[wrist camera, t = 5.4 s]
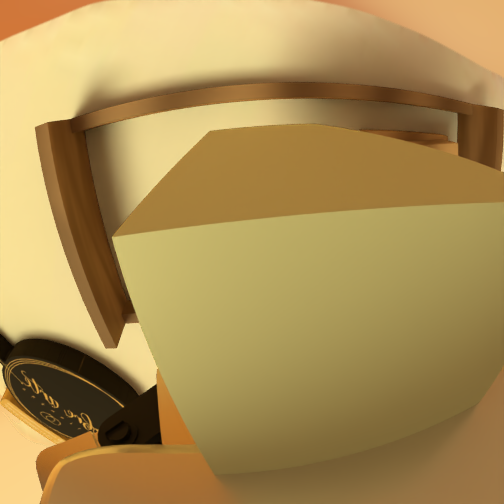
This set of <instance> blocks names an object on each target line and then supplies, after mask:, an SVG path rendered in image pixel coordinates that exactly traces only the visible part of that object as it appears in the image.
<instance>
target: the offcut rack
mask: <svg viewBox="0 0 504 504" xmlns="http://www.w3.org/2000/svg"><path fill="white" fill-rule="evenodd" d="M301 98H319V99H351V100H367V101H379V102H389V103H398V104H407V105H414V106H421V107H428V108H434V109H439V110H445V111H450V112H455V113H458V140H457V143H458V156H460V157H463V158H466V159H469V160H472V161H475V162H478V163H480V164H483V165H486V166H488V167H491V168H494V169H496V170H499V171H501V164H502V152H503V132H504V110H502V109H499V108H494V107H488V106H482V105H474V104H470V103H466V102H462V101H458V100H454V99H449V98H445V97H440V96H435V95H430V94H425V93H419V92H414V91H407V90H401V89H394V88H386V87H377V86H367V85H356V84H341V83H316V82H284V83H258V84H243V85H231V86H221V87H212V88H204V89H197V90H190V91H184V92H177V93H172V94H166V95H161V96H156V97H151V98H146V99H141V100H137V101H133V102H128V103H124V104H120V105H116V106H112V107H109V108H105V109H101V110H98V111H95V112H91V113H88V114H85V115H81V116H78V117H75V118H72V119H68V120H60V121H53V122H47V123H44V124H42V125H39V126H37V127H35V131H36V138H37V145H38V151H39V156H40V162H41V167H42V172H43V176H44V181H45V185H46V189H47V194H48V198H49V202H50V205H51V209H52V213H53V216H54V220H55V223H56V227H57V230H58V233H59V236H60V240H61V243H62V246H63V249H64V252H65V255H66V257H67V260H68V263H69V266H70V269H71V271H72V274H73V277H74V279H75V282H76V284H77V287H78V289H79V292H80V294H81V296H82V299H83V301H84V304H85V306H86V308H87V310H88V313H89V315H90V317H91V319H92V321H93V324H94V326H95V328H96V330H97V332H98V334H99V336H100V338H101V340H102V342H103V344H104V346H105V348H117V346H118V343H119V340H120V337H121V334H122V331H123V328H124V326H125V323H139V320H138V318H137V315H136V312H135V309H134V307H133V304H132V301H131V300H127V299H126V296H125V293H124V290H123V287H122V284H121V281H120V278H119V275H118V272H117V269H116V266H115V263H114V260H113V256H112V253H111V250H110V246H109V243H108V239H107V236H106V232H105V228H104V225H103V221H102V217H101V213H100V209H99V205H98V201H97V196H96V192H95V187H94V183H93V178H92V173H91V168H90V163H89V157H88V151H87V145H86V139H85V133H84V131H85V130H88V129H92V128H95V127H99V126H103V125H106V124H110V123H114V122H118V121H122V120H126V119H131V118H135V117H140V116H145V115H149V114H154V113H160V112H165V111H171V110H177V109H183V108H189V107H196V106H203V105H211V104H220V103H229V102H240V101H253V100H269V99H301Z"/></svg>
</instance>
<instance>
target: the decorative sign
mask: <svg viewBox="0 0 504 504" xmlns="http://www.w3.org/2000/svg"><path fill="white" fill-rule="evenodd" d="M0 363H1V364H2V365H3V368H2V373H3V378H4V382H5V384H6V386H7V389H6V391H5V393H4V395H3V397H2V399H1V401H0V404H1V405H2V406H3V407H4V408H6V409H7V410H8V411H9V412H11V413H12V414H13V415H15V416H16V417H17V418H19V419H20V420H21V421H23V422H24V423H25V424H27V425H28V426H30V427H31V428H32V429H34V430H35V431H37V432H38V433H40V434H41V435H43V436H44V437H46V438H47V439H49V440H51V441H52V442H54V443H55V444H59V443H62V442H64V441H67V440H70V439H72V438H75V437H77V436H80V435H82V434H84V433H87V432H89V431H91V432H92V433H93V434H94V433H96V432H98V430H99V427H100V426H101V424H102V423H103V422H104V421H105V420H106V419H107V418H108V417H110V416H111V415H113V414H114V413H116V412H117V411H119V410H120V409H122V408H123V407H125V406H126V405H127V404H129V403H130V402H132V401H133V400H135V399H136V398H138V397H139V395H138V394H137V393H136V391H135V390H134V389H133V388H132V387H131V386H130V385H129V384H128V383H127V382H126V381H125V380H123V379H122V378H121V377H120V376H118V375H117V374H116V373H114V372H113V371H112V370H110V369H109V368H107V367H106V366H105V365H103V364H102V363H100V362H98V361H97V360H95V359H93V358H92V357H90V356H88V355H86V354H84V353H82V352H80V351H78V350H76V349H74V348H71V347H69V346H66V345H63V344H60V343H57V342H54V341H49V340H44V339H27V340H23V341H20V342H19V343H17V344H16V345H15V346H12V345H11V344H10V343H9V342H8V341H7V340H6V339H5V338H4V337H3V336H2V335H1V334H0Z"/></svg>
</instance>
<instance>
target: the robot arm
mask: <svg viewBox="0 0 504 504" xmlns="http://www.w3.org/2000/svg"><path fill="white" fill-rule="evenodd" d="M156 378H157V384H156V385H154V386H153V387H152V388H150V389H149V390H147V391H146V392H145V393H143V394H142V395H140V396H139V397H138V398H136V399H135V400H133V401H132V402H130V403H129V404H127V405H126V406H125V407H123V408H122V409H120V410H119V411H117V412H116V413H114V414H113V415H111V416H110V417H108V418H107V419H106V420H105V421H104V422H103V423H102V424H101V426H100V427H99V430H98V432H96V433H94V434H93V433H92V432H91V431H89V432H87V433H84V434H82V435H80V436H77V437H75V438H72V439H70V440H67V441H64V442H62V443H59V444H57V445H54V446H51V447H49V448H46V449H45V450H43V451H41V453H40V454H39V455H38V457H37V460H36V469H37V472H38V477H39V480H40V483H41V487H42V490H43V494H42V498H41V501H40V504H504V366H503V368H502V369H501V371H500V373H499V374H498V376H497V377H496V379H495V381H494V382H493V384H492V385H491V387H490V388H489V389H488V391H487V392H486V394H485V395H484V397H483V398H482V399H481V401H480V402H479V403H478V404H476V405H474V406H472V407H470V408H469V409H467V410H465V411H463V412H461V413H459V414H457V415H455V416H453V417H451V418H449V419H447V420H445V421H442V422H440V423H438V424H436V425H434V426H431V427H429V428H427V429H424V430H422V431H419V432H417V433H414V434H412V435H409V436H407V437H404V438H401V439H399V440H396V441H393V442H390V443H387V444H384V445H381V446H378V447H375V448H372V449H368V450H365V451H362V452H358V453H355V454H351V455H347V456H343V457H339V458H335V459H331V460H327V461H322V462H318V463H313V464H308V465H302V466H297V467H291V468H284V469H277V470H270V471H261V472H252V473H240V474H223V475H214V473H213V472H212V470H211V469H210V467H209V465H208V464H207V462H206V460H205V459H204V457H203V455H202V454H201V452H200V450H199V448H198V447H197V445H196V443H195V441H194V440H193V438H192V436H191V434H190V432H189V430H188V429H187V427H186V425H185V423H184V421H183V419H182V417H181V415H180V413H179V411H178V409H177V407H176V405H175V403H174V401H173V399H172V397H171V395H170V393H169V391H168V389H167V387H166V385H165V382H164V380H163V378H162V376H161V374H160V371H159V369H157V374H156Z"/></svg>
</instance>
